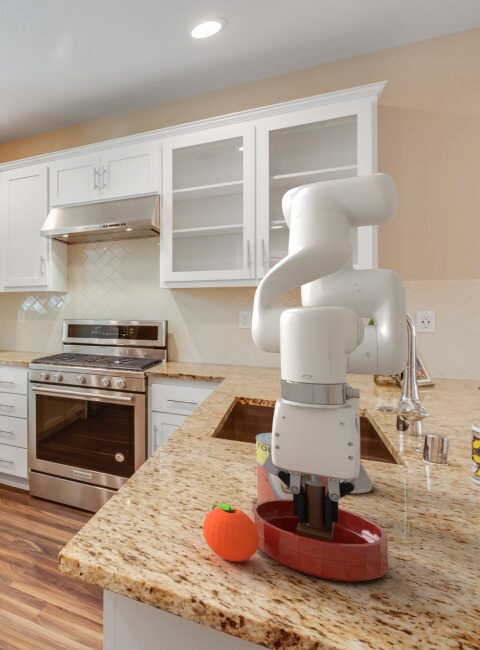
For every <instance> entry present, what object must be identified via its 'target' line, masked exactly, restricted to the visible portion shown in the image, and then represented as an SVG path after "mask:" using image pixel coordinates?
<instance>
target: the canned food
mask: <svg viewBox="0 0 480 650" xmlns="http://www.w3.org/2000/svg"><path fill="white" fill-rule="evenodd" d="M255 440H256V441H255V443H256V444H255V445H256V446H255V448H256V483H257V484H256V489H257V490H256V491H257V500H256V503H259V502H261V501H265V500H273V499H291V500H293V493H292V492H291V491H290V489H289V488H288V487H287V486H286V485H285V484H284V483H283V482H282V480H281V479H280V478H279V477H277V476H275V475H273V474H271V473H270V472H268V471H266V470H264V469H263V464H264V462H265V461H266V459H267V457H268V456H269V454H270V452H271V450H272V431H271V432H262V433H261V432H260V433H258V434H256V435H255ZM288 472H289V473H290V471H288ZM305 481H316V482H320V483H323V484H325V490H326V495H327V491H329V489H328V477H322V476H316V475H310V474H304V473H302V486H303V487H304V489H305Z"/></svg>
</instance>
